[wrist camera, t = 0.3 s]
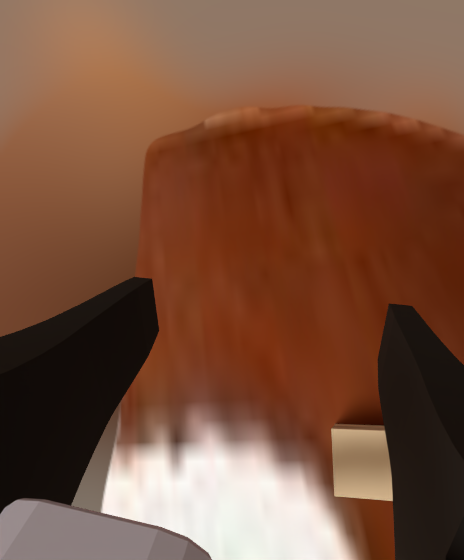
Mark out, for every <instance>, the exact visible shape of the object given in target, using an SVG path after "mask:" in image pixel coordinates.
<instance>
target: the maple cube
mask: <svg viewBox="0 0 464 560" xmlns="http://www.w3.org/2000/svg"><path fill="white" fill-rule="evenodd" d="M331 430H332V451H333V473H334V494H335V496H339V497H351V498H364V499H376V500H388V501H393V493H392V476H391V467H390V459H389V453H388V446H387V440H386V434H385V428H384V426H381V425H352V424H335V425H334V426H333V427H332V429H331Z"/></svg>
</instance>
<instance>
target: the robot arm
mask: <svg viewBox="0 0 464 560" xmlns="http://www.w3.org/2000/svg"><path fill="white" fill-rule="evenodd" d="M158 332H159V326H158V319H157V312H156V304H155V297H154V290H153V283H152V279H148V278H139V277H133V278H131V279H129V280H126V281H124V282H122V283H120V284H118V285H116V286H114V287H112V288H110V289H108V290H107V291H105V292H103V293H101V294H99V295H97V296H95V297H93V298H91V299H89V300H88V301H86V302H84V303H82V304H80V305H78V306H76V307H73V308H71V309H69V310H67V311H65V312H63V313H61V314H59V315H57V316H55V317H52V318H50V319H48V320H46V321H43V322H41V323H38V324H36V325H33V326H31V327H28V328H25V329H23V330H20V331H17V332H15V333H11V334H8V335H5V336H2V337H0V560H212V559H211V557H210V555H209V554H208V552H206V551H205V550H204V549H202V548H201V547H200V546H198V545H197V544H196V543H194V542H193V541H192V540H190V539H189V538H188V537H185V536H183V535H180V534H178V533H175V532H172V531H170V530H167V529H165V528H162V527H158V526H154V525H150V524H146V523H142V522H137V521H133V520H129V519H125V518H121V517H116V516H112V515H108V514H104V513H100V512H95V511H91V510H87V509H83V508H79V507H74V506H71V504H72V502H73V499H74V497H75V494H76V492H77V490H78V487H79V485H80V482H81V480H82V477H83V475H84V473H85V470H86V468H87V466H88V464H89V462H90V459H91V457H92V455H93V453H94V450H95V448H96V446H97V444H98V442H99V440H100V438H101V436H102V434H103V432H104V429H105V427H106V425H107V423H108V421H109V420H110V418H111V416H112V414H113V413H114V411H115V409H116V407H117V406H118V404H119V403H120V401H121V400H122V398H123V396H124V395H125V393H126V392H127V390H128V388H129V387H130V385H131V384H132V382H133V380H134V379H135V377H136V375H137V374H138V372H139V371H140V369H141V367H142V366H143V364H144V362H145V361H146V359H147V357H148V355H149V353H150V351H151V349H152V346H153V344H154V342H155V339H156V337H157V334H158ZM378 389H379V396H380V403H381V409H382V416H383V422H384V428H385V434H386V440H387V446H388V453H389V459H390V467H391V476H392V493H393V512H394V537H395V560H464V365H463V364H462V363H461V362H460V361H459V360H458V359H457V358H456V357H455V356H454V355H453V354H452V353H451V352H450V351H449V350H448V348H447V347H446V346H445V345H444V344H443V343H442V342H441V341H440V339H439V338H438V337H437V336H436V335H435V333H434V332H433V331H432V330H431V329H430V327H429V326H428V325H427V324H426V323H425V321H424V320H423V319H422V318H421V316H420V315H419V314H418V313H417V311H416V310H415V309H414V308H413V307H412V306H407V305H397V304H389V306H388V311H387V316H386V321H385V326H384V331H383V336H382V341H381V346H380V351H379V356H378Z"/></svg>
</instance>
